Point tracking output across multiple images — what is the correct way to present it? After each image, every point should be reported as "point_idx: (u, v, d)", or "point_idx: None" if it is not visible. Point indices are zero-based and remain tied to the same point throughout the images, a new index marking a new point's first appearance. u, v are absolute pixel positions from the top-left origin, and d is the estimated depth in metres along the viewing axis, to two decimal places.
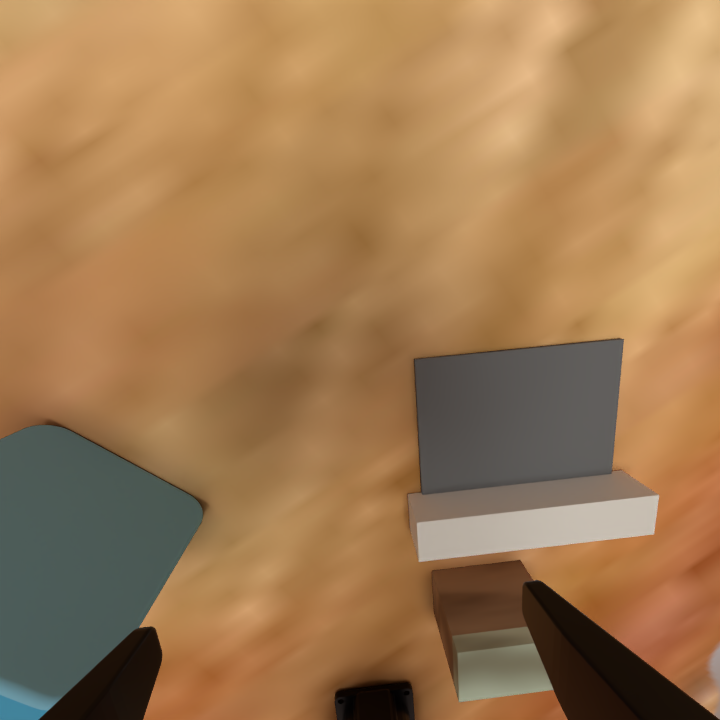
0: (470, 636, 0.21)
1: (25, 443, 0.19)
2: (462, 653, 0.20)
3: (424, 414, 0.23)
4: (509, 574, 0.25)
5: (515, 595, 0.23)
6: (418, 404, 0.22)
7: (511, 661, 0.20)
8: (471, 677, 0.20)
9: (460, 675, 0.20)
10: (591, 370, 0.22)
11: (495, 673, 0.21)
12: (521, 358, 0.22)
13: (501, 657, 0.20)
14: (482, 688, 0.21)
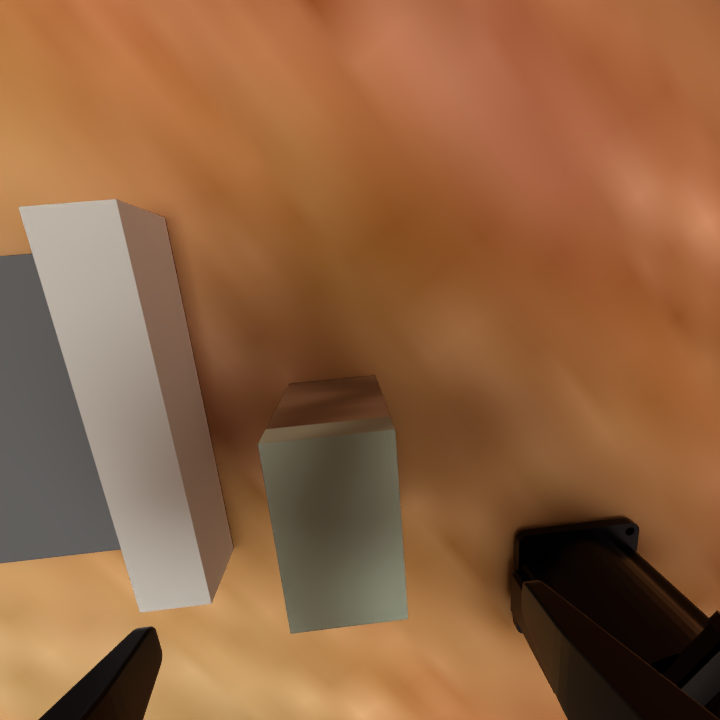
0: None
1: None
2: (293, 625, 0.11)
3: (36, 551, 0.16)
4: None
5: None
6: (22, 559, 0.16)
7: (314, 546, 0.10)
8: (349, 606, 0.11)
9: (343, 624, 0.11)
10: None
11: (343, 569, 0.11)
12: None
13: (303, 564, 0.11)
14: (379, 587, 0.11)
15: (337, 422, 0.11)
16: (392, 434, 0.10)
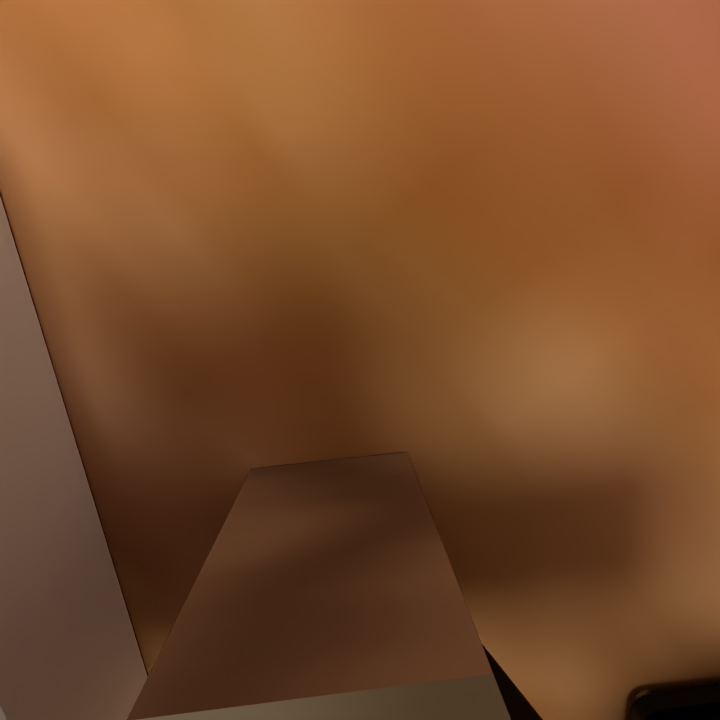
0: None
1: None
2: None
3: None
4: None
5: None
6: None
7: None
8: None
9: None
10: None
11: None
12: None
13: None
14: None
15: (340, 698, 0.04)
16: None
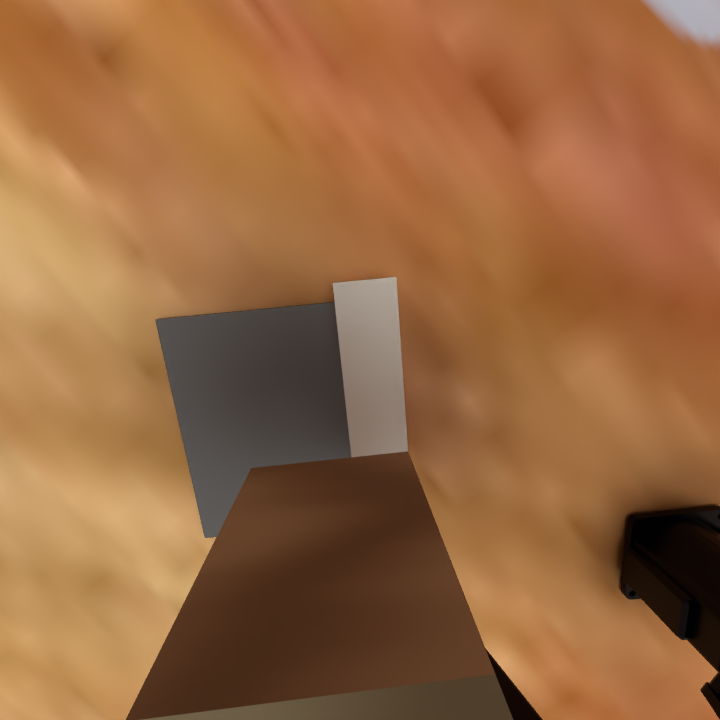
0: None
1: None
2: None
3: None
4: None
5: None
6: None
7: None
8: None
9: None
10: (198, 352, 0.19)
11: None
12: (192, 434, 0.20)
13: None
14: None
15: (340, 699, 0.04)
16: None
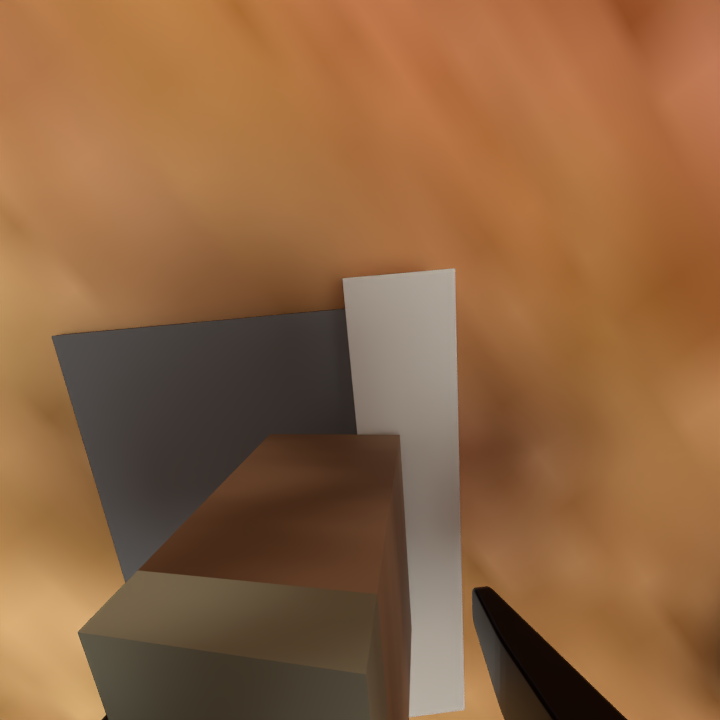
0: None
1: None
2: None
3: None
4: None
5: None
6: None
7: None
8: None
9: None
10: (124, 388, 0.12)
11: None
12: (120, 511, 0.13)
13: None
14: None
15: (264, 586, 0.05)
16: (358, 683, 0.04)
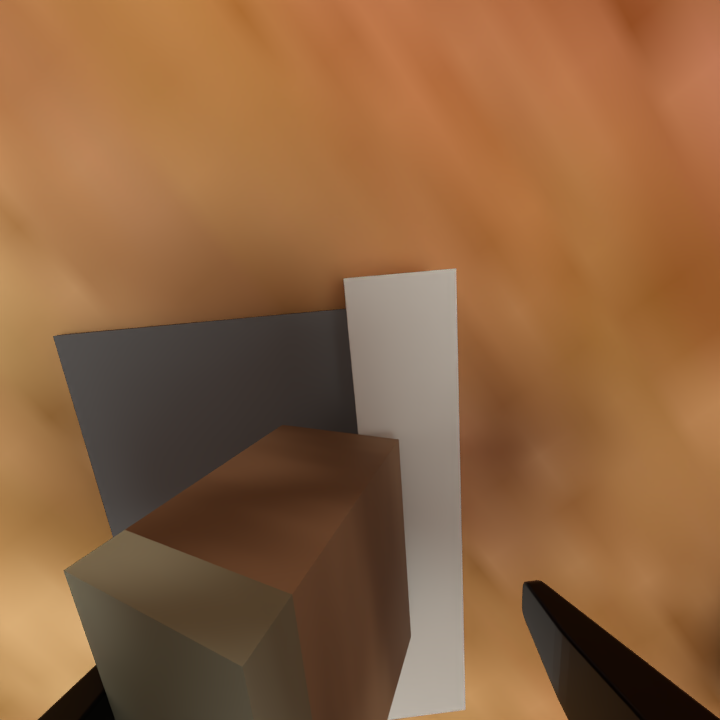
0: None
1: None
2: None
3: None
4: None
5: None
6: None
7: None
8: None
9: None
10: (125, 388, 0.12)
11: None
12: (121, 510, 0.13)
13: None
14: None
15: (206, 564, 0.06)
16: (238, 673, 0.04)
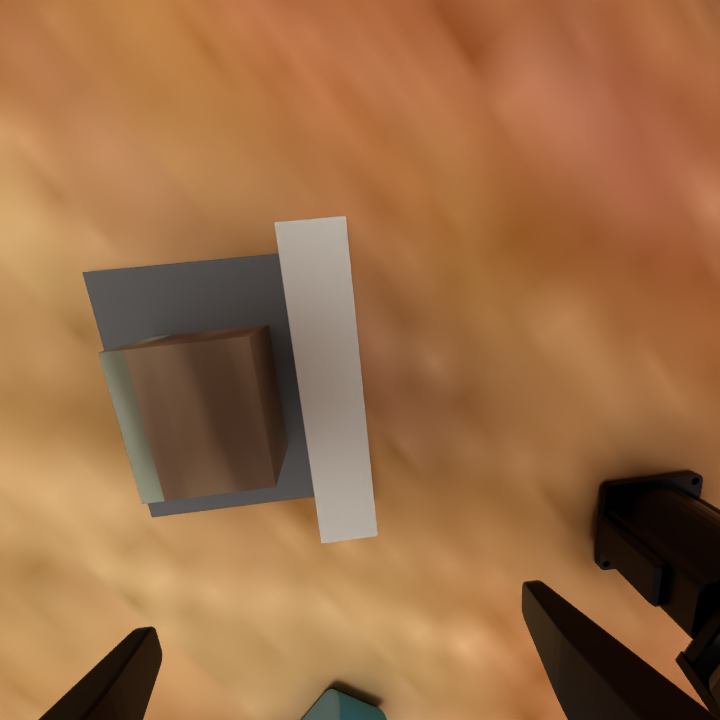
0: None
1: None
2: None
3: (216, 502, 0.20)
4: None
5: None
6: (204, 509, 0.20)
7: None
8: None
9: None
10: (133, 310, 0.17)
11: None
12: None
13: None
14: None
15: (146, 342, 0.15)
16: (100, 355, 0.13)
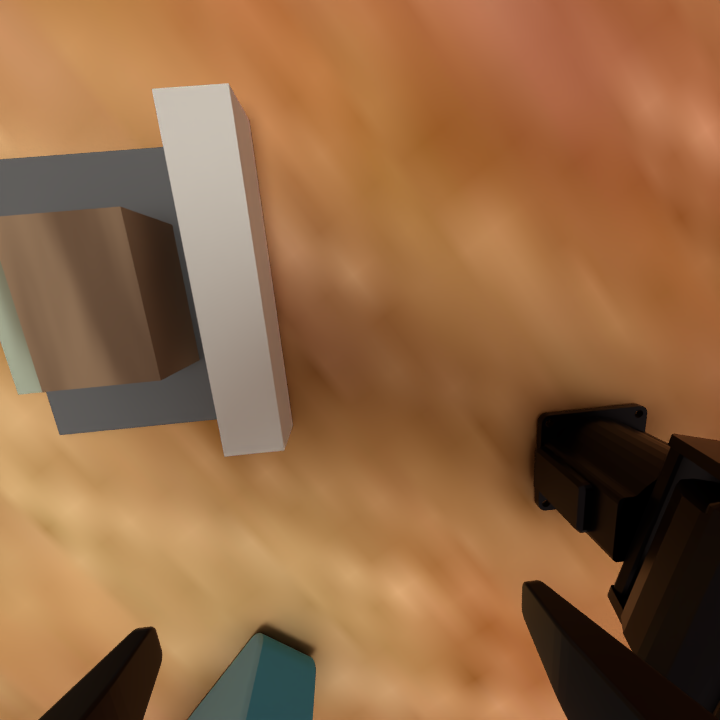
0: None
1: None
2: None
3: (126, 420, 0.19)
4: None
5: None
6: (114, 428, 0.19)
7: None
8: None
9: None
10: (29, 205, 0.16)
11: None
12: None
13: None
14: None
15: None
16: None
